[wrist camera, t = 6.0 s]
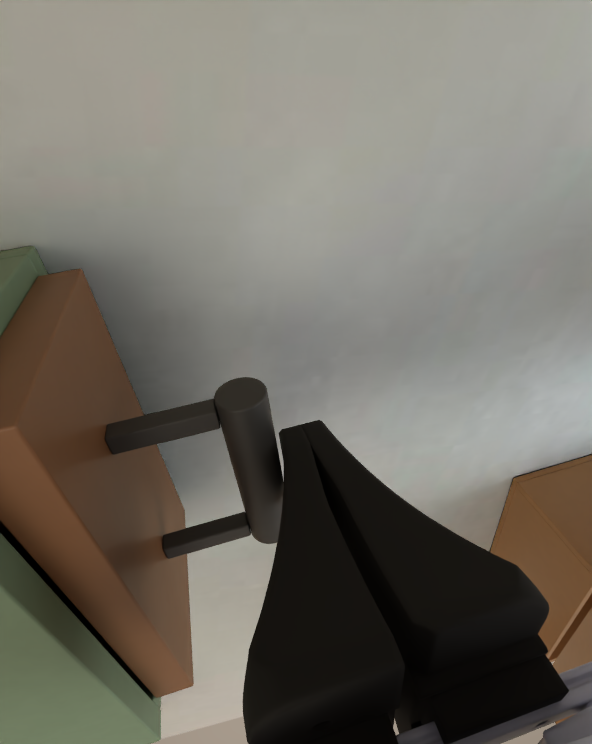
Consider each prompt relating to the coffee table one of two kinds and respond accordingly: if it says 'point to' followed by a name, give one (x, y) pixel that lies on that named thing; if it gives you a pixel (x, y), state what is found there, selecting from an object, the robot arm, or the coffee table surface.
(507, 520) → the carton
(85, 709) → the cabinet
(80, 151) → the coffee table surface
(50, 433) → the drawer
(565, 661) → the flap
